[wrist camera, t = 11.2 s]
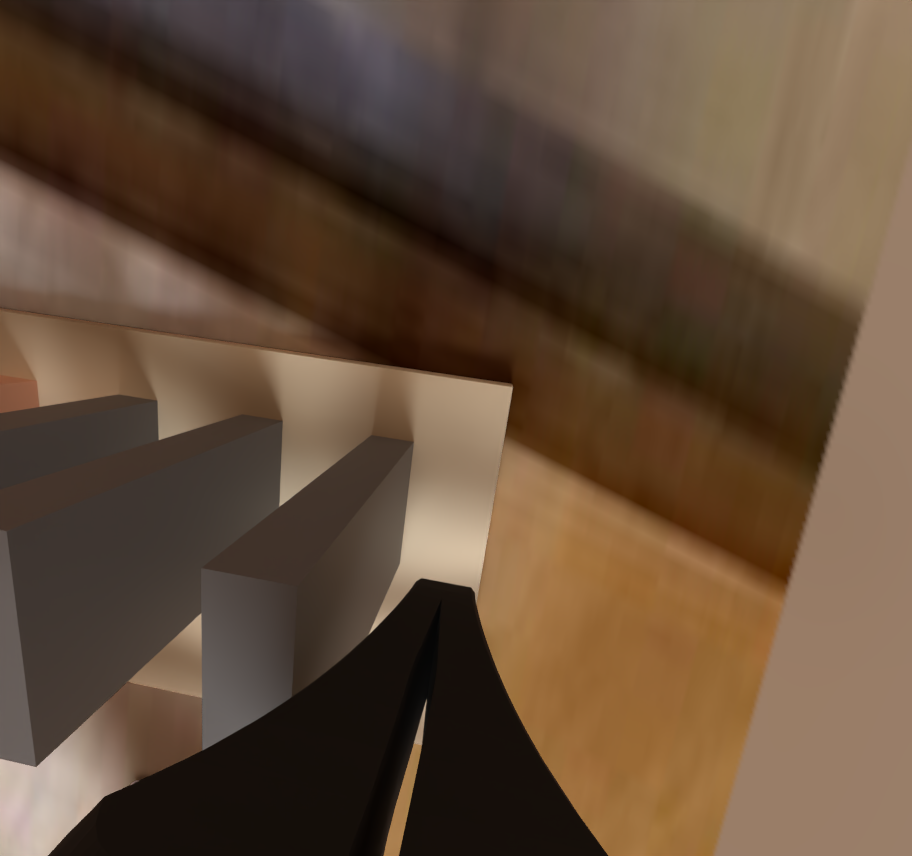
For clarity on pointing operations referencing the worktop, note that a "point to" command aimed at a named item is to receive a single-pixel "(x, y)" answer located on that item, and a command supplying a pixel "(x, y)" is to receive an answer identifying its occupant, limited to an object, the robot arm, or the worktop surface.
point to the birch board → (291, 433)
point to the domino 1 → (17, 394)
